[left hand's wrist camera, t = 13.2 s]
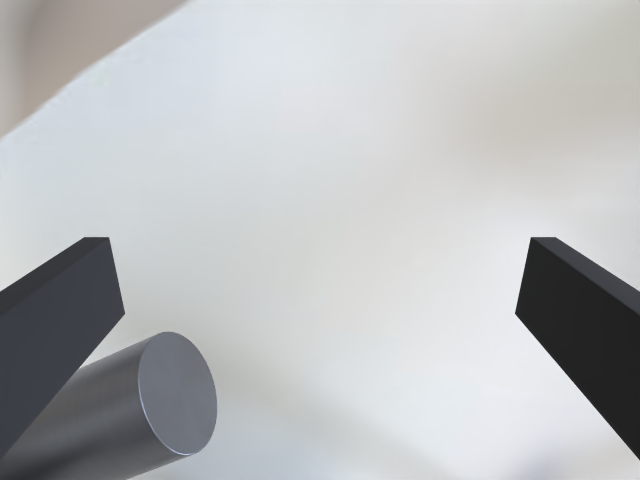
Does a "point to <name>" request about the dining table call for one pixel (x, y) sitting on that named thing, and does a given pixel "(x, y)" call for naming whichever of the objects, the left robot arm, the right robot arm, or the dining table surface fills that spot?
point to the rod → (121, 416)
